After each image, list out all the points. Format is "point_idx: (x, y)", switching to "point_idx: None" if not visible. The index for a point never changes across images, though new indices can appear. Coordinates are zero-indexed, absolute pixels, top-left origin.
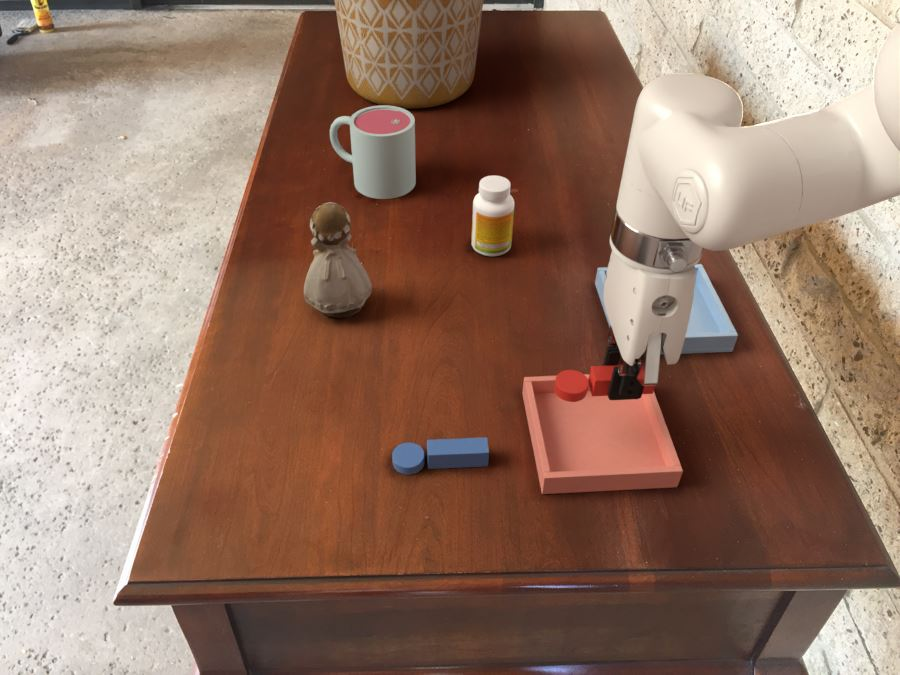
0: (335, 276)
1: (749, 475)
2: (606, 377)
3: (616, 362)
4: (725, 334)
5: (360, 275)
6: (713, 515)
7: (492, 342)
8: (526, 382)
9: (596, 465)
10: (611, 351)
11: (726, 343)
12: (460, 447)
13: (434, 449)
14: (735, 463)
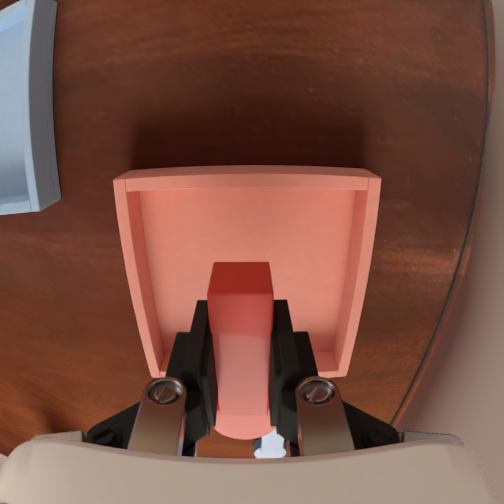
0: None
1: (350, 38)
2: (259, 399)
3: (215, 384)
4: (30, 13)
5: None
6: (417, 132)
7: (75, 363)
8: (162, 376)
9: (312, 290)
10: (210, 426)
11: (44, 11)
12: (276, 435)
13: (275, 449)
14: (323, 48)
